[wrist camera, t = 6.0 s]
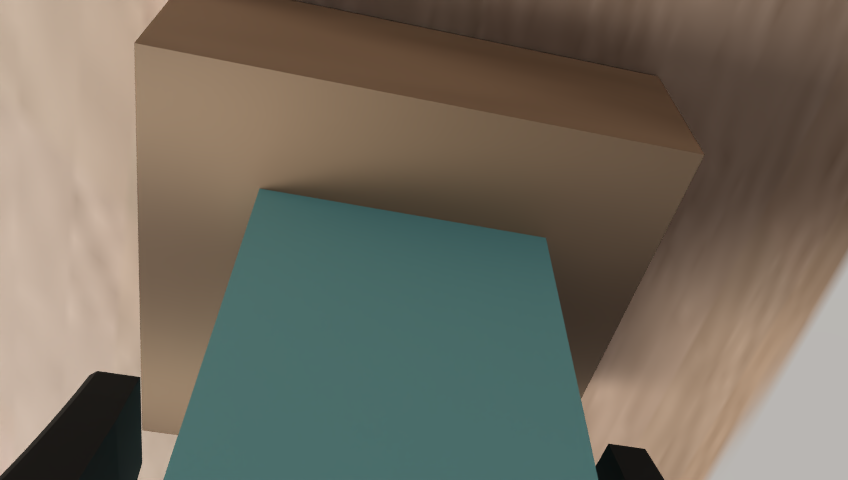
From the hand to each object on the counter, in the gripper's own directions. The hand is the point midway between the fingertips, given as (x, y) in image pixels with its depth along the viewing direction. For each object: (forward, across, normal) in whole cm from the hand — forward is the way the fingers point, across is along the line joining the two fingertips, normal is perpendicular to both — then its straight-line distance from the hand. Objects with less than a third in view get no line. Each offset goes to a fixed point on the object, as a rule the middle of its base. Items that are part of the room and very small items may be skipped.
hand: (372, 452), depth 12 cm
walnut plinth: (+6, 0, 0) cm, 6 cm away
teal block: (+3, 0, 0) cm, 3 cm away
